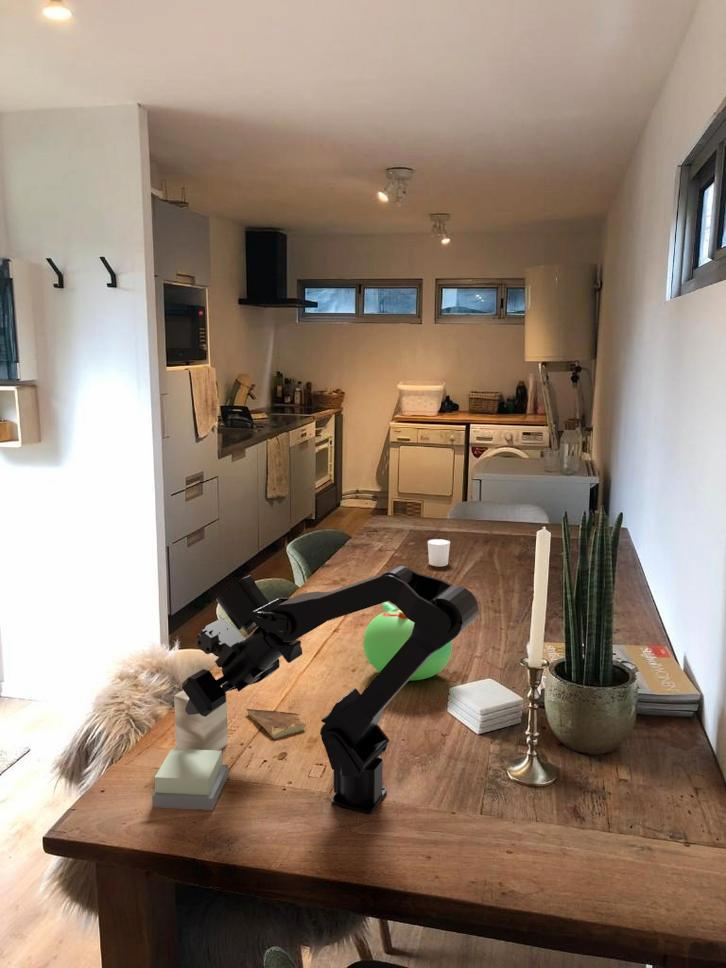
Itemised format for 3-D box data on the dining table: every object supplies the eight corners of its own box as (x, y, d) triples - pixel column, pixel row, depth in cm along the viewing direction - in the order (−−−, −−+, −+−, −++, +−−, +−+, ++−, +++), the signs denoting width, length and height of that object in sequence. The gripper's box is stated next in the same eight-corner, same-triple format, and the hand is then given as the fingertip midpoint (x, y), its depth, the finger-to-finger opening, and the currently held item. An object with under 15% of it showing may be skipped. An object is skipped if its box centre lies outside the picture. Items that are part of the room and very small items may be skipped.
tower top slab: (222, 765, 120) (221, 750, 120) (208, 795, 112) (208, 779, 112) (172, 763, 121) (171, 748, 120) (155, 792, 113) (154, 777, 112)
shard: (246, 716, 140) (246, 707, 140) (283, 706, 144) (283, 697, 144) (271, 742, 131) (271, 732, 131) (311, 730, 135) (311, 721, 135)
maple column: (227, 744, 130) (226, 689, 128) (204, 760, 125) (202, 704, 123) (200, 735, 133) (198, 681, 131) (176, 751, 128) (174, 695, 126)
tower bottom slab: (228, 779, 121) (228, 764, 120) (213, 814, 112) (212, 798, 111) (172, 776, 121) (172, 762, 121) (153, 811, 113) (152, 795, 112)
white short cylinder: (450, 567, 230) (451, 544, 229) (427, 567, 230) (428, 544, 229) (448, 560, 237) (449, 538, 236) (426, 560, 237) (426, 538, 236)
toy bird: (352, 685, 152) (351, 614, 149) (379, 652, 168) (379, 588, 165) (440, 699, 146) (441, 626, 143) (460, 664, 162) (462, 598, 159)
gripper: (264, 592, 129) (214, 641, 136) (189, 629, 113) (137, 682, 120) (303, 646, 127) (251, 692, 134) (233, 690, 111) (177, 741, 118)
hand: (206, 700), depth 127 cm, fingers open, 9 cm apart
